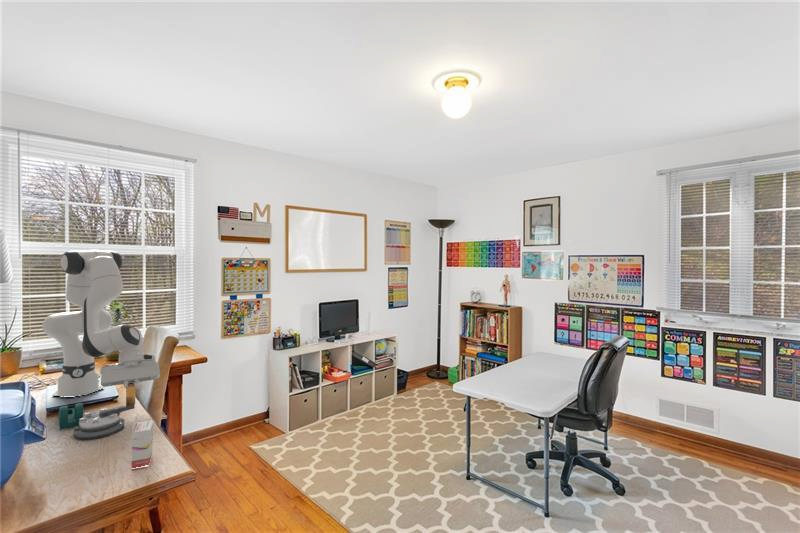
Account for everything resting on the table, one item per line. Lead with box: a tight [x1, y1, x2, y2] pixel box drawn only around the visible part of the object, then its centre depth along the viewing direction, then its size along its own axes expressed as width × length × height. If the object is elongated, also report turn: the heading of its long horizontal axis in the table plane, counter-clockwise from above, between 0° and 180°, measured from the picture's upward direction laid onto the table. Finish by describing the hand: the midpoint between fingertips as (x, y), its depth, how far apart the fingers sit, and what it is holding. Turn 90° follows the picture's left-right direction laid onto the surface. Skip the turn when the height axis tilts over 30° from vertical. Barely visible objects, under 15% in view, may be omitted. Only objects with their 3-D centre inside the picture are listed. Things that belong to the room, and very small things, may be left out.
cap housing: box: [73, 417, 126, 441], centre depth 144 cm, size 15×15×2 cm
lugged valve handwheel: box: [79, 385, 136, 432], centre depth 146 cm, size 18×12×12 cm
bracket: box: [58, 402, 84, 431], centre depth 153 cm, size 18×7×8 cm, turn 43°
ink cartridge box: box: [131, 413, 154, 468], centre depth 122 cm, size 9×5×15 cm, turn 27°
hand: (131, 391), depth 157 cm, fingers closed
